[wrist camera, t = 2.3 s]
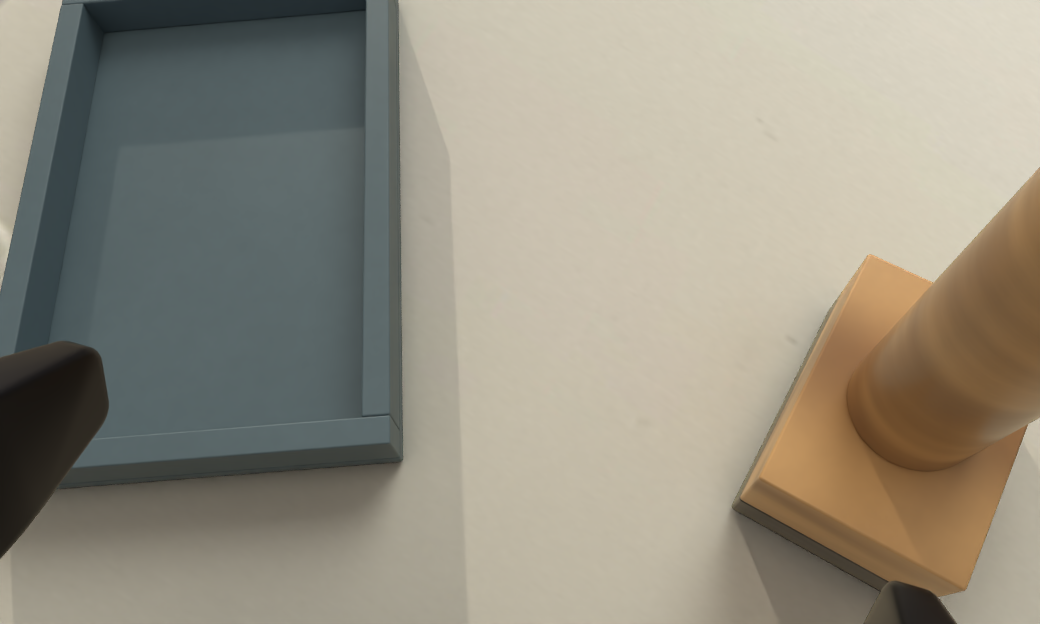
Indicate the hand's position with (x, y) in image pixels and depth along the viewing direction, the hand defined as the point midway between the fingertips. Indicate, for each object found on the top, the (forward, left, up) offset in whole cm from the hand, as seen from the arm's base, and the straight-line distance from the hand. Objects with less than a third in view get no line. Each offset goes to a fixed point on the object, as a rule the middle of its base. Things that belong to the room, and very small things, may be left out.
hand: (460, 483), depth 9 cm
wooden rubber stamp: (-2, -10, -14) cm, 18 cm away
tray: (+16, +1, -14) cm, 21 cm away
